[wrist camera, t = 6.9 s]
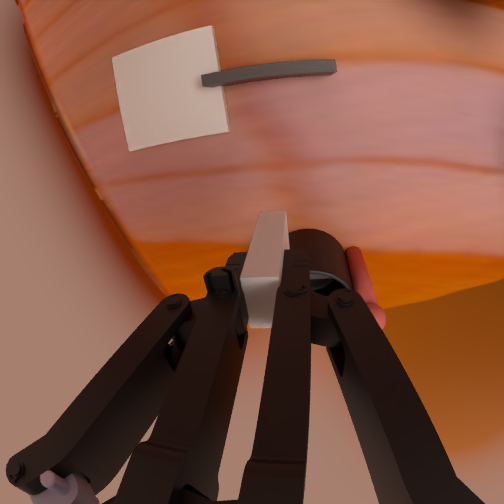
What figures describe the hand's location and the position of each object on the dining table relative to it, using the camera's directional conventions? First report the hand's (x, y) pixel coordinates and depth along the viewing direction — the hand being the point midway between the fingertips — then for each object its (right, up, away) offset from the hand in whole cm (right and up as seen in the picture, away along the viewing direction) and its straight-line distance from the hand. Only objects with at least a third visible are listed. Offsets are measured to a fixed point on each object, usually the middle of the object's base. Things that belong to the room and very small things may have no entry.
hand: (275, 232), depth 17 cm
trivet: (-10, +16, +10) cm, 22 cm away
